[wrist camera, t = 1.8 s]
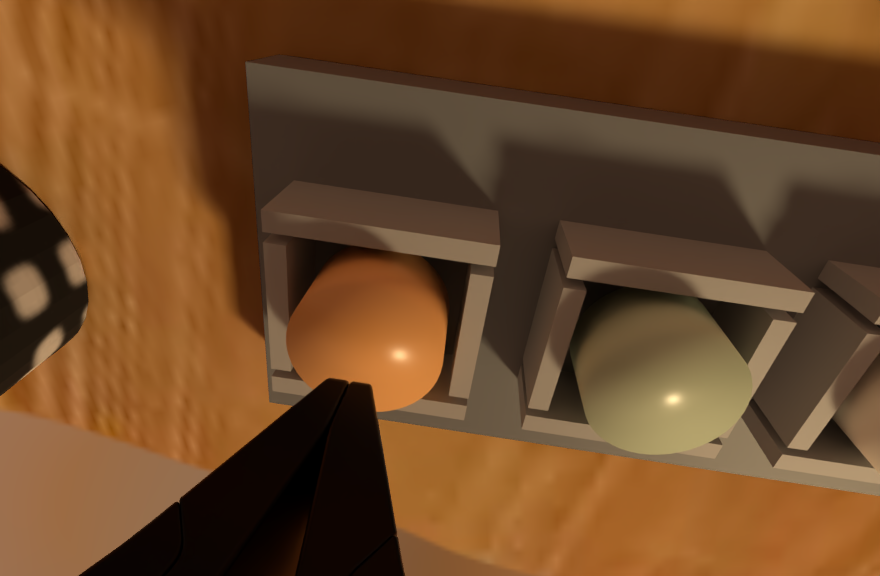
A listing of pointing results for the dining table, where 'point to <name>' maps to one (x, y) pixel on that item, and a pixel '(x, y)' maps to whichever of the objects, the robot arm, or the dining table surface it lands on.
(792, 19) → the dining table surface
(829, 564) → the dining table surface
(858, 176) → the rack
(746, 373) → the sage button
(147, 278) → the dining table surface
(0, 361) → the spotted tube
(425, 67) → the dining table surface
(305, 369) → the orange button
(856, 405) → the cream button
